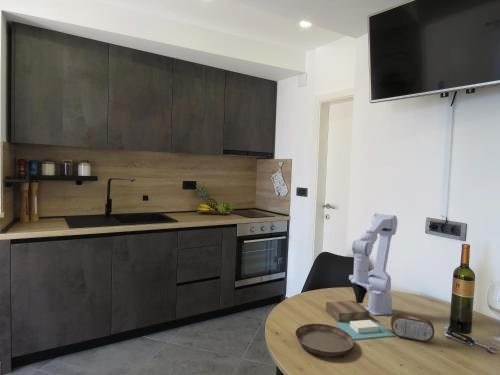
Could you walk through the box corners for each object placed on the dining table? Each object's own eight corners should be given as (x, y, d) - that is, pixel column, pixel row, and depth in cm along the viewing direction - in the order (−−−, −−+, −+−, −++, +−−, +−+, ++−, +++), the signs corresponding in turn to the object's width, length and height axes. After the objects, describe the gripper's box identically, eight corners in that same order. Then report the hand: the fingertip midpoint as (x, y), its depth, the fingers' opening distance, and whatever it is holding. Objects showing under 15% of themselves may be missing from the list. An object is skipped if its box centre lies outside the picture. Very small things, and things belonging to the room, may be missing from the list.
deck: (353, 309, 154) (354, 300, 154) (368, 320, 142) (369, 311, 142) (325, 311, 151) (326, 302, 150) (338, 322, 139) (339, 313, 139)
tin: (432, 340, 126) (434, 319, 126) (434, 344, 123) (436, 322, 123) (389, 332, 131) (391, 311, 131) (390, 335, 128) (392, 314, 128)
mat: (373, 320, 142) (373, 319, 142) (394, 336, 129) (394, 335, 129) (334, 323, 138) (334, 322, 138) (352, 340, 125) (352, 339, 125)
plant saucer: (345, 332, 131) (345, 324, 131) (361, 362, 111) (361, 352, 110) (292, 330, 132) (292, 321, 132) (298, 359, 111) (298, 349, 111)
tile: (378, 326, 132) (378, 331, 132) (369, 319, 137) (369, 324, 137) (358, 328, 129) (357, 333, 130) (350, 321, 135) (349, 326, 135)
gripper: (343, 265, 143) (341, 296, 143) (362, 275, 128) (360, 310, 129) (358, 264, 144) (356, 295, 145) (378, 274, 130) (376, 309, 131)
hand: (359, 302), depth 137 cm, fingers closed
